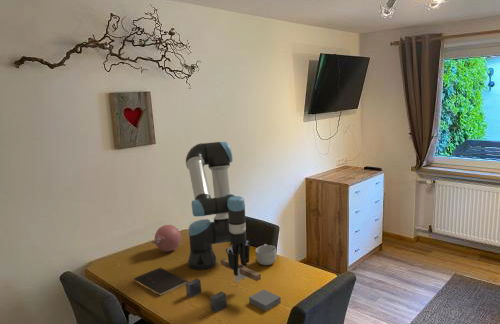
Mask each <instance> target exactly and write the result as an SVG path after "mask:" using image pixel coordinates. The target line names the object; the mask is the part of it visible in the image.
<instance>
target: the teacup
mask: <svg viewBox="0 0 500 324" xmlns="http://www.w3.org/2000/svg"><path fill="white" fill-rule="evenodd" d="M254 251H255V257H256V260H257V262H258V263H259V264H260V265H262V266H270V265H272V264H273V263H275V262H276V260H277V248H276V246H274V245H269V244H267V243H264V244H263V245H260V246H258V247H256V248H255V250H254Z"/></svg>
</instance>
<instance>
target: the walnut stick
mask: <svg viewBox="0 0 500 324" xmlns="http://www.w3.org/2000/svg"><path fill="white" fill-rule="evenodd" d="M220 266H223V267H225V268H228V269H229V270H232V271H234V269H231V268H230V266H229V260H228V258H226V257H224V258H222V259H220ZM238 268H239V269H240V274H242V275H244V276H245V277H246V278H248V279H251V280H253V281H256V282H258V281H260V280H261V279H262V277H261V275H262V274H261V273H260V272H258V271H255V270H253V269H250V268H248V267H247V266H246V267H244V266H242V264H241V265H240V264H239V263H238Z"/></svg>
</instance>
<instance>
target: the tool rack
mask: <svg viewBox="0 0 500 324" xmlns="http://www.w3.org/2000/svg"><path fill="white" fill-rule="evenodd" d="M185 290H186V296H187V297H188V298H190V299H191V298H194V297H196V296H198V295H199V294H201V293H202V282H201V280H200V279H199V278H195V279H192V280H191V281H188V283H186V284H185ZM227 302H228V301H227V294H226V293H225V292H223V291H220V292H217V293H216V294H214V295H211V296H210V309H211V311H212V312H214V313H215V314H216V313H218V312H220V311H222V310H224V309H225V308H227V307H228V304H227Z"/></svg>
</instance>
